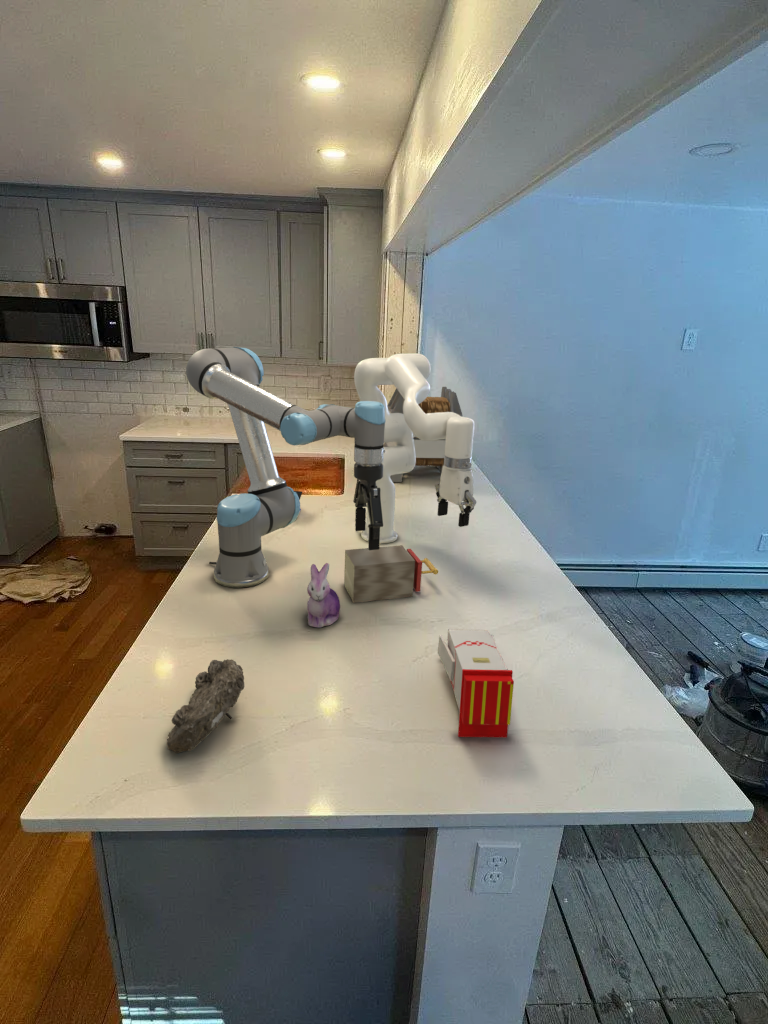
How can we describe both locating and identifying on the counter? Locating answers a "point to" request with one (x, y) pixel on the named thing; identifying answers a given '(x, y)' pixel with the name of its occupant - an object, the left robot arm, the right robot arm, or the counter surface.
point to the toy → (478, 682)
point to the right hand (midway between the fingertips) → (452, 520)
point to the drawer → (420, 569)
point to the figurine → (321, 599)
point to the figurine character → (299, 494)
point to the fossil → (206, 705)
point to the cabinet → (378, 573)
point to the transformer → (432, 449)
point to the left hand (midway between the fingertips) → (366, 539)
